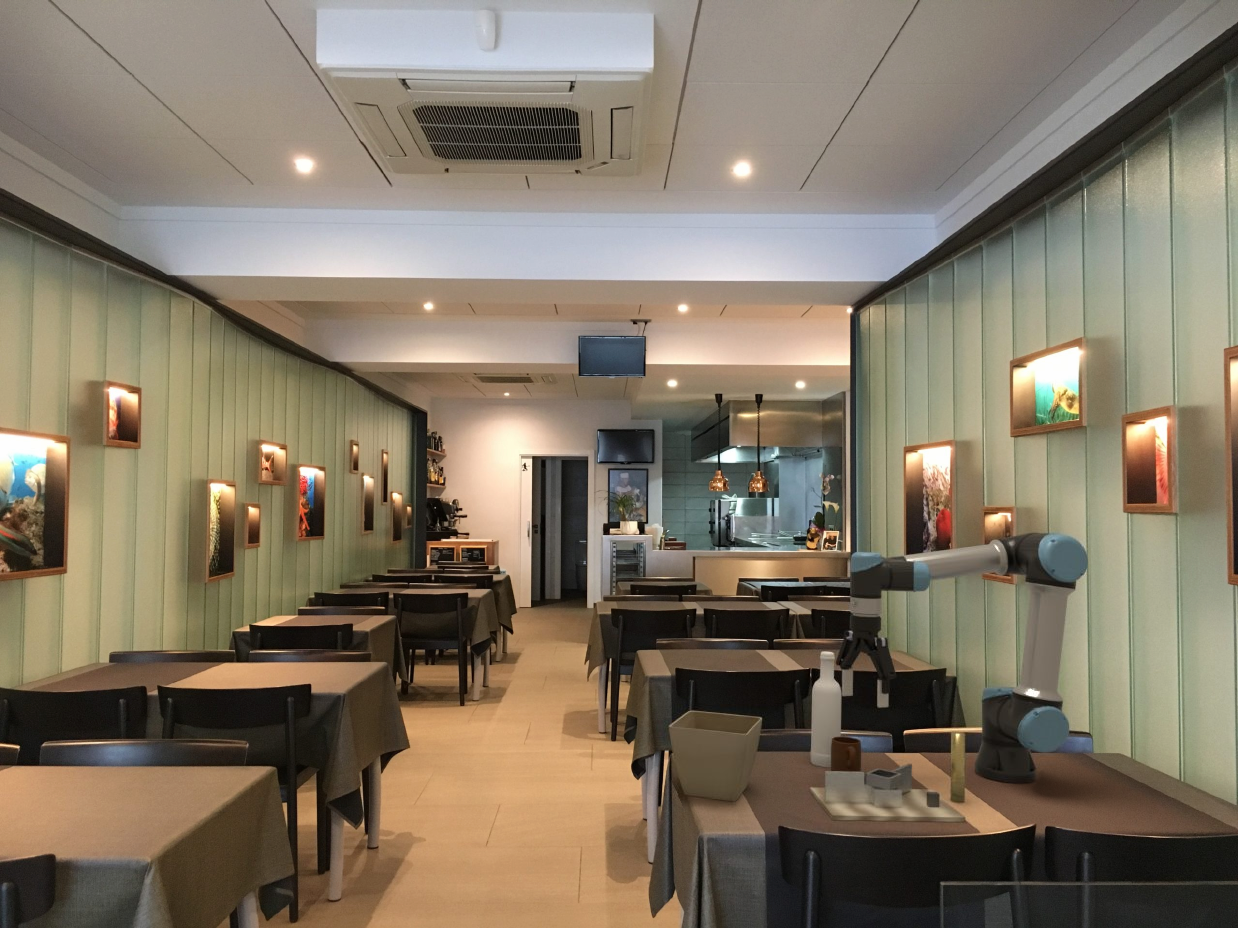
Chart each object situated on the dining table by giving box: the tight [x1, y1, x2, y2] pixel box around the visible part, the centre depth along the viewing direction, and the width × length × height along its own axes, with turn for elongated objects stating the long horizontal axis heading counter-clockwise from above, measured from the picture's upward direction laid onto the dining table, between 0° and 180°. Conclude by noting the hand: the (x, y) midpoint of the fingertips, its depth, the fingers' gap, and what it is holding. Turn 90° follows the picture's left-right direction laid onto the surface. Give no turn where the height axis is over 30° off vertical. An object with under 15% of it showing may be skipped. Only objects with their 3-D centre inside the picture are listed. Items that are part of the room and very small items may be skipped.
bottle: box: [810, 651, 842, 768], centre depth 247 cm, size 8×8×30 cm
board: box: [809, 787, 967, 823], centre depth 212 cm, size 30×20×1 cm, turn 92°
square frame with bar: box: [864, 763, 913, 794], centre depth 215 cm, size 17×6×6 cm, turn 137°
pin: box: [950, 731, 966, 804], centre depth 218 cm, size 3×3×16 cm
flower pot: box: [668, 710, 763, 802], centre depth 220 cm, size 19×19×17 cm
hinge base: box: [824, 770, 941, 808], centre depth 211 cm, size 26×6×7 cm, turn 92°
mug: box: [830, 736, 862, 772], centre depth 233 cm, size 12×8×9 cm, turn 179°
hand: (864, 701), depth 224 cm, fingers open, 13 cm apart
